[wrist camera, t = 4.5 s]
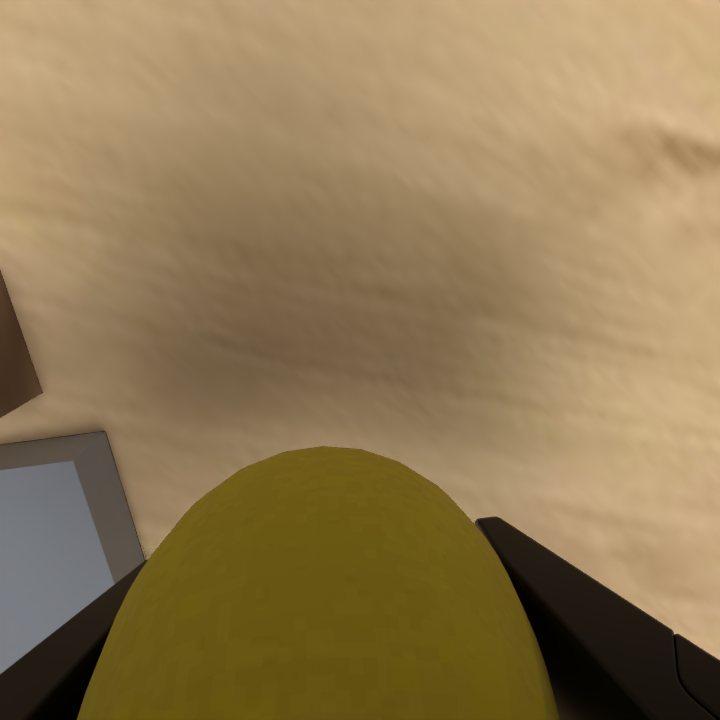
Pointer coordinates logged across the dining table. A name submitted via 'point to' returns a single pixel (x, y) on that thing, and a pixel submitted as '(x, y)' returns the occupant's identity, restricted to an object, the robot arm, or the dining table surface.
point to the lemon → (322, 606)
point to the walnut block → (14, 359)
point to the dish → (58, 535)
